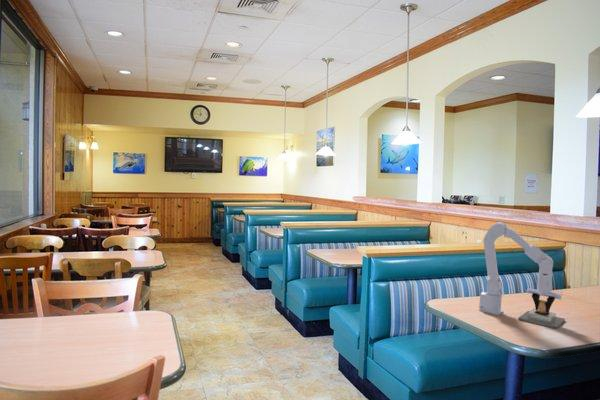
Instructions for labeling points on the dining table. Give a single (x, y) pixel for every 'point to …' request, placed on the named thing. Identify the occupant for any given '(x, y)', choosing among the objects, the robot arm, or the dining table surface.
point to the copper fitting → (542, 307)
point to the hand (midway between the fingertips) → (542, 311)
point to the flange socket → (542, 319)
